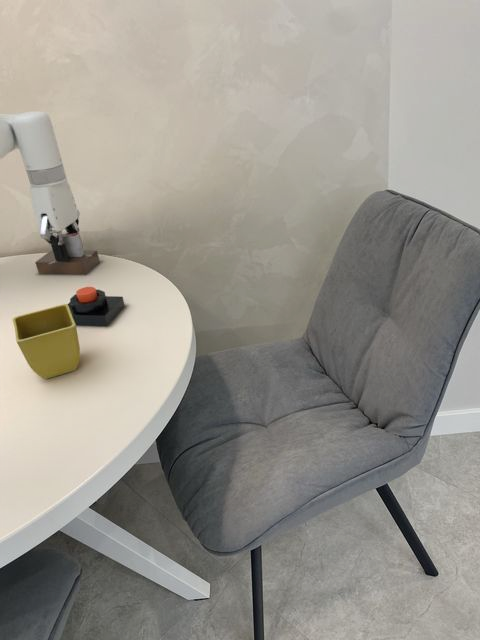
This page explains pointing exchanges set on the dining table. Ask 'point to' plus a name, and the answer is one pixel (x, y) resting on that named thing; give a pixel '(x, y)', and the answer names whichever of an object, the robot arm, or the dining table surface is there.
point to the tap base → (68, 264)
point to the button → (86, 294)
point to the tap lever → (72, 244)
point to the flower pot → (48, 340)
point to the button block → (96, 310)
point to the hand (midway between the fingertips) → (69, 254)
